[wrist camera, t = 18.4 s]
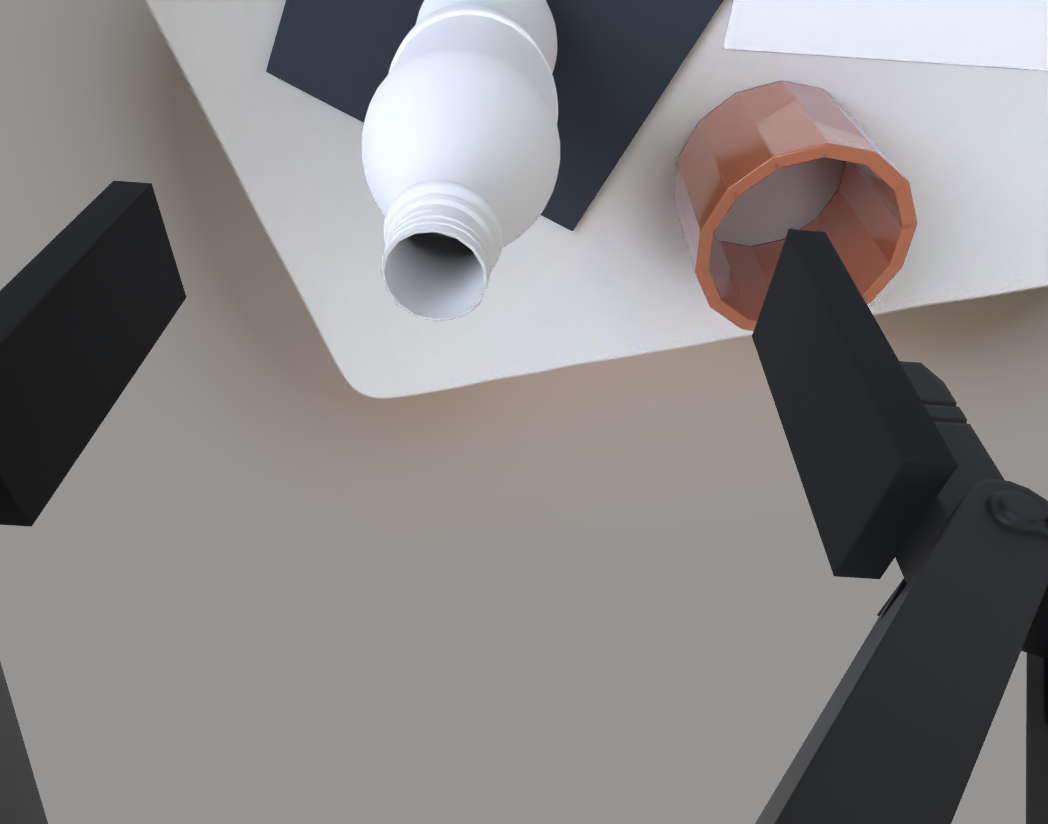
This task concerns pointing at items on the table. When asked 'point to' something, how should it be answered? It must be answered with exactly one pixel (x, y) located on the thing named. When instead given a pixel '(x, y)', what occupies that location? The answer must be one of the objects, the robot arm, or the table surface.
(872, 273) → the terracotta flower pot
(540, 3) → the water bottle
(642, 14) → the mat
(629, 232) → the table surface
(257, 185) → the table surface
